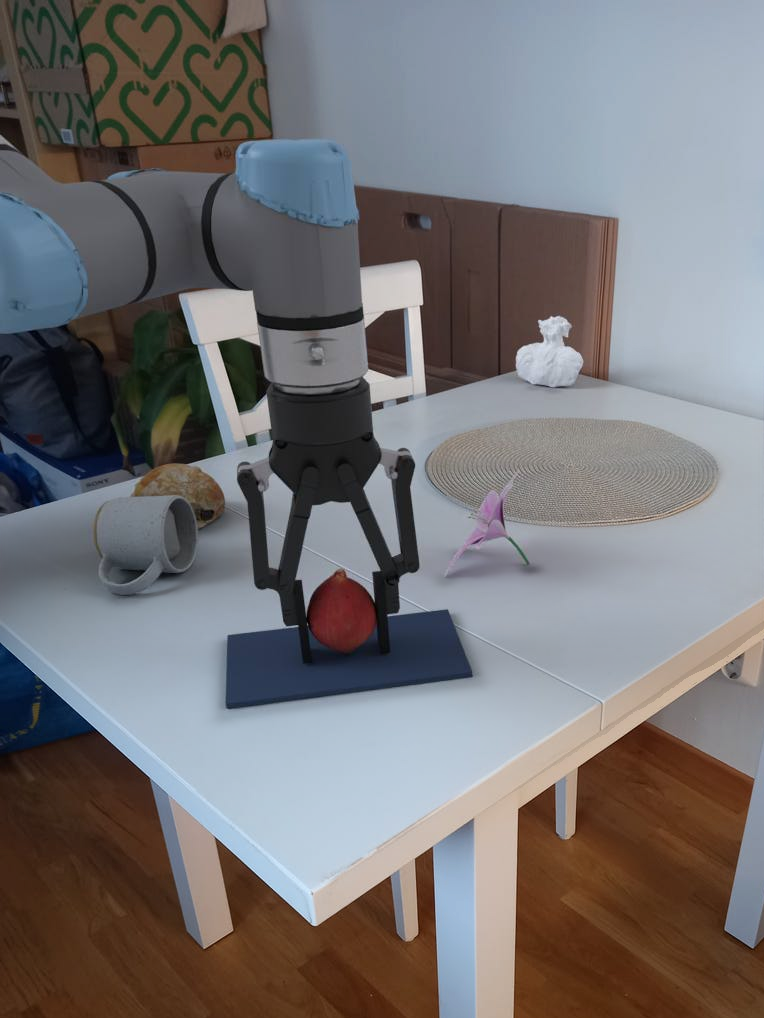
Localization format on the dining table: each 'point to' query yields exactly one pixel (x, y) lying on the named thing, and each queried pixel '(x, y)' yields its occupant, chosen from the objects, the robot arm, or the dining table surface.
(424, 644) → the board
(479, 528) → the lily
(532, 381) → the bust
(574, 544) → the dining table surface
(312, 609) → the onion
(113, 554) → the ceramic mug
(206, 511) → the bread roll
